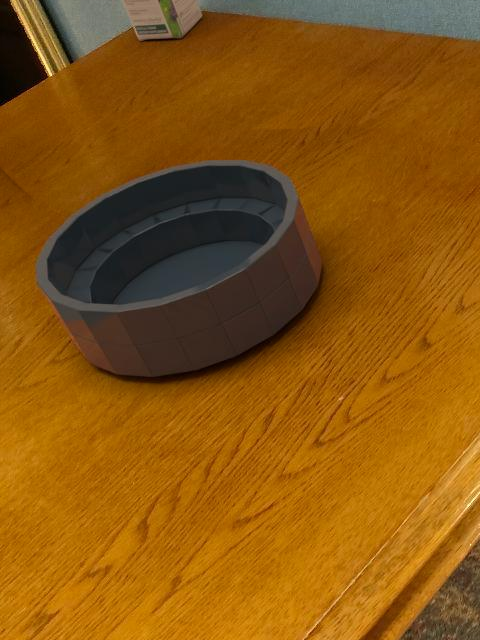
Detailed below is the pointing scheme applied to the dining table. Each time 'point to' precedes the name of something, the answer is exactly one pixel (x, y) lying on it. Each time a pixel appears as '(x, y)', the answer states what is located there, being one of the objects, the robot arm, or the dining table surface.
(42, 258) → the bowl
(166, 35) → the syrup box
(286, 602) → the dining table surface
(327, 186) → the dining table surface
